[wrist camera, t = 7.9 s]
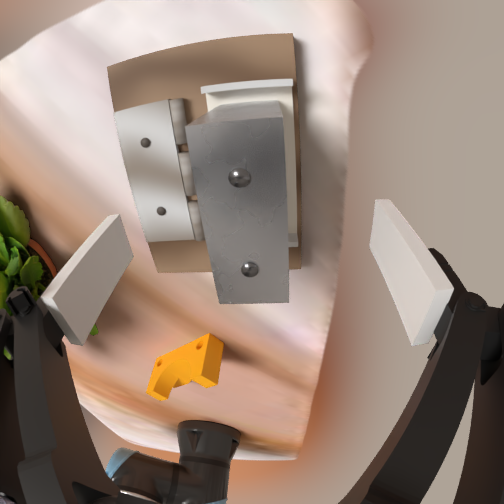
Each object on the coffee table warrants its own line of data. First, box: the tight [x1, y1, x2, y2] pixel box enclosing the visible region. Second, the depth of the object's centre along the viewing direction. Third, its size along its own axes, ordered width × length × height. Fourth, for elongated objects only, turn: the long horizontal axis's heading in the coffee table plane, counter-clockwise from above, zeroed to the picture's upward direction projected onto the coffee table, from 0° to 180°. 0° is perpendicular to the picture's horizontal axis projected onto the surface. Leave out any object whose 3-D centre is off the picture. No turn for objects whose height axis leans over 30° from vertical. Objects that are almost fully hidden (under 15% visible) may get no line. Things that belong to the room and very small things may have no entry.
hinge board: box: [107, 33, 301, 273], centre depth 21 cm, size 20×14×2 cm
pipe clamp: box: [146, 333, 224, 401], centre depth 35 cm, size 12×4×6 cm, turn 130°
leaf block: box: [185, 100, 289, 304], centre depth 17 cm, size 10×4×9 cm, turn 5°
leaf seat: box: [201, 79, 298, 247], centre depth 20 cm, size 13×6×2 cm, turn 5°
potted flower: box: [0, 196, 98, 360], centre depth 24 cm, size 25×24×18 cm
